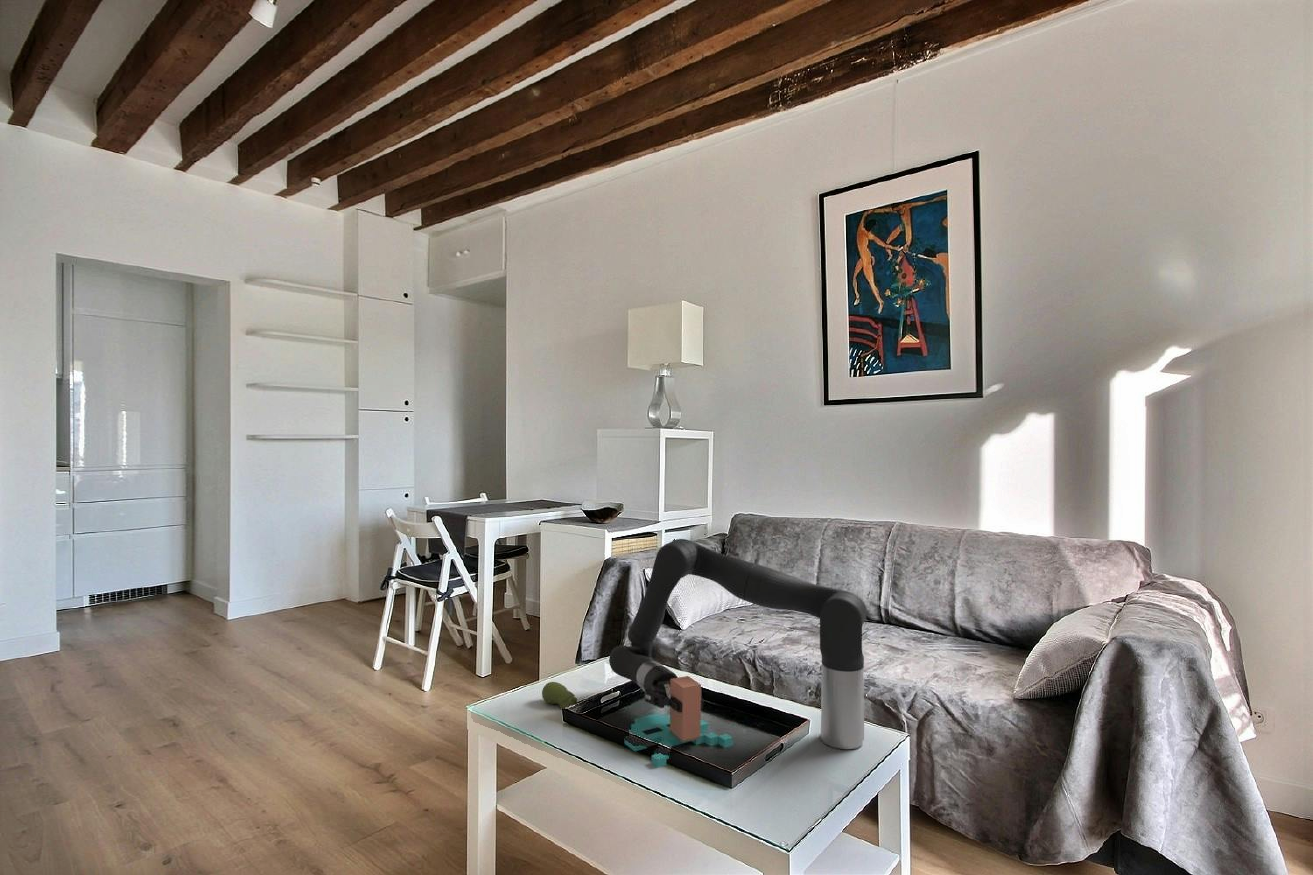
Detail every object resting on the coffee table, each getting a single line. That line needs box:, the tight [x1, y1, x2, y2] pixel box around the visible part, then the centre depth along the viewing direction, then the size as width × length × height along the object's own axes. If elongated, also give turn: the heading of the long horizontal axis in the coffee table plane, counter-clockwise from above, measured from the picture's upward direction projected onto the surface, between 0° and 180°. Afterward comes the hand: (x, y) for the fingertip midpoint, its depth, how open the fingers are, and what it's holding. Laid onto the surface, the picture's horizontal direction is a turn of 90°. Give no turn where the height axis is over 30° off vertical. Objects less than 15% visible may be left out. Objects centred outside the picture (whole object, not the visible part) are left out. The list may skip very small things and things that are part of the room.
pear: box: [541, 681, 578, 710], centre depth 177 cm, size 6×5×10 cm
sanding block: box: [669, 675, 702, 744], centre depth 155 cm, size 4×6×12 cm
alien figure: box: [624, 712, 734, 769], centre depth 158 cm, size 20×2×20 cm
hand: (691, 705), depth 153 cm, fingers closed on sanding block, 4 cm apart
